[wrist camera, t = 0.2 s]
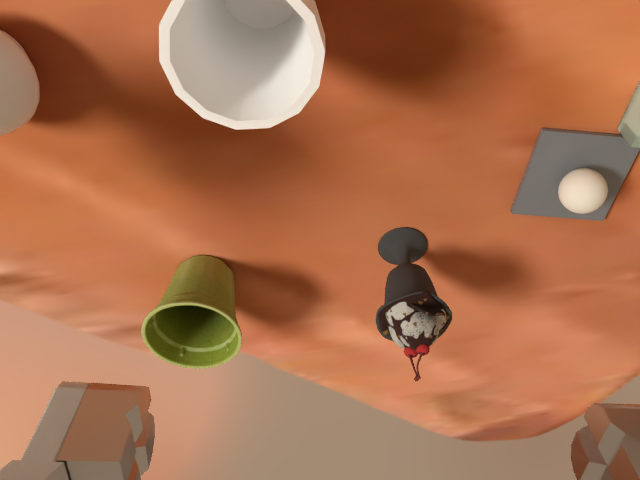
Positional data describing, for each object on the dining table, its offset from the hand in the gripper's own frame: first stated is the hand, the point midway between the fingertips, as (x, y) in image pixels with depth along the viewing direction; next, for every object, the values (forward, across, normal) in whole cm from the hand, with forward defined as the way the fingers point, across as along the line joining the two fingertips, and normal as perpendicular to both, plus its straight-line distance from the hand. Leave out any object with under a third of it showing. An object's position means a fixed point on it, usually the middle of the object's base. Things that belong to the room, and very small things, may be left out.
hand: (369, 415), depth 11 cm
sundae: (+42, -9, +24) cm, 49 cm away
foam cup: (+39, +5, 0) cm, 40 cm away
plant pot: (+42, +11, +30) cm, 53 cm away
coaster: (+40, -24, +15) cm, 49 cm away
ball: (+40, -24, +15) cm, 49 cm away
